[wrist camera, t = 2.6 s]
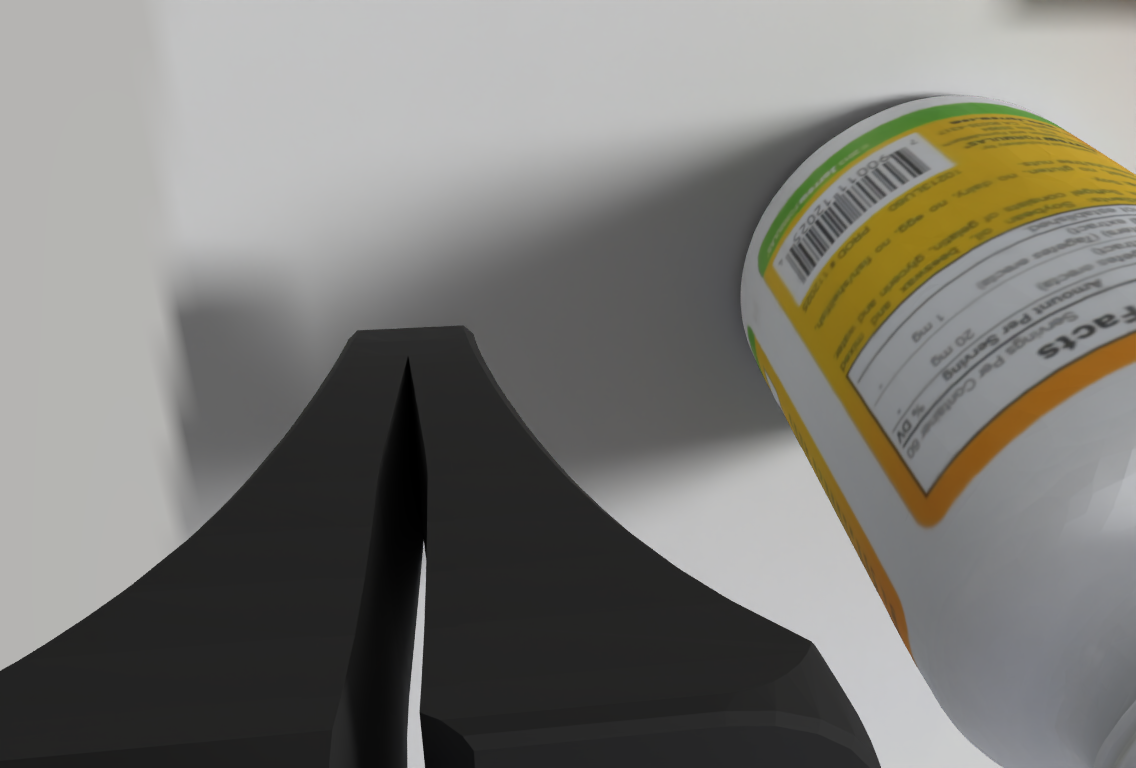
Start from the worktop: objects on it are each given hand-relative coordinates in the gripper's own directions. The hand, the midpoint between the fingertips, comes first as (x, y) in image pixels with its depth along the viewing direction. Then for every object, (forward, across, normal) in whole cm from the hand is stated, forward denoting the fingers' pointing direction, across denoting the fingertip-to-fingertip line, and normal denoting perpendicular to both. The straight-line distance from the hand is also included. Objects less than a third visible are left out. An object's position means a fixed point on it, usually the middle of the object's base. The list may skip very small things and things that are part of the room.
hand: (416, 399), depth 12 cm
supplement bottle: (+3, -7, 0) cm, 8 cm away
